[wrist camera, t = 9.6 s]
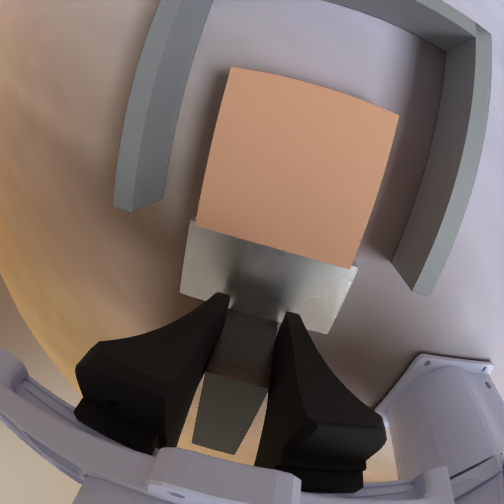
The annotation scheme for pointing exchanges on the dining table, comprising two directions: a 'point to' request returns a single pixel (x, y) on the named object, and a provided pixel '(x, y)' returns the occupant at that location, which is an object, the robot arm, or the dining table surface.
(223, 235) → the turner
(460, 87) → the frame
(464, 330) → the dining table surface
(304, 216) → the tile
